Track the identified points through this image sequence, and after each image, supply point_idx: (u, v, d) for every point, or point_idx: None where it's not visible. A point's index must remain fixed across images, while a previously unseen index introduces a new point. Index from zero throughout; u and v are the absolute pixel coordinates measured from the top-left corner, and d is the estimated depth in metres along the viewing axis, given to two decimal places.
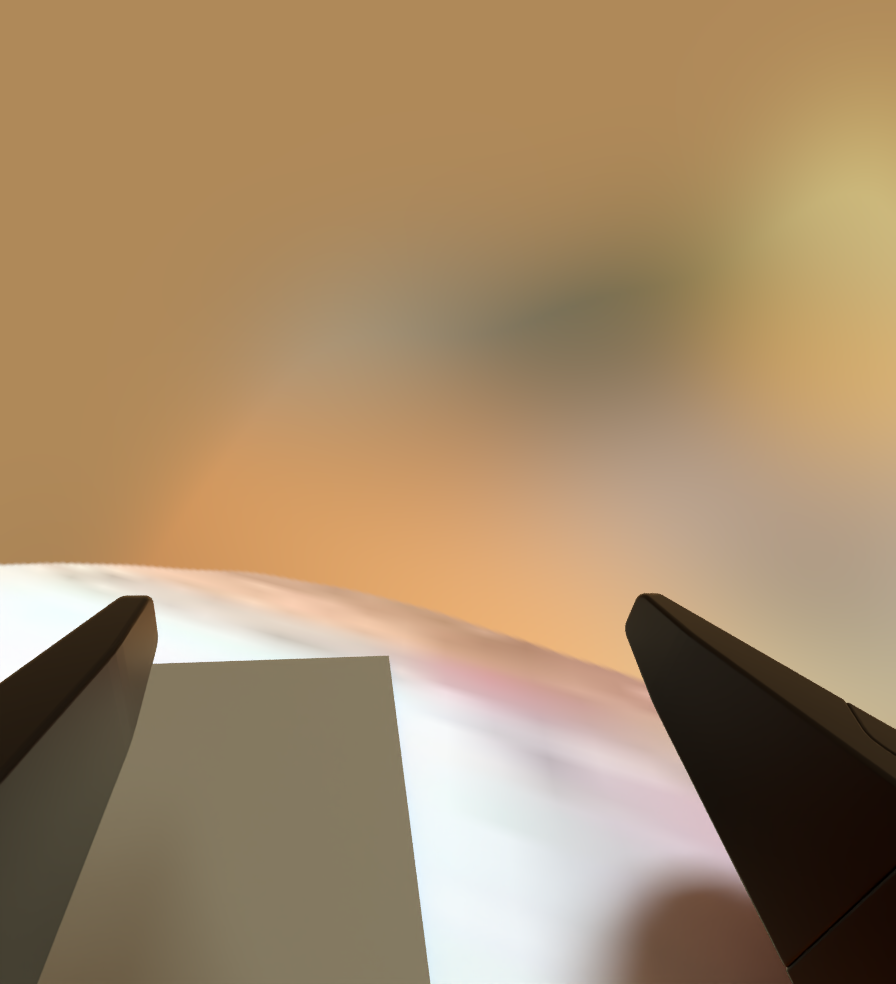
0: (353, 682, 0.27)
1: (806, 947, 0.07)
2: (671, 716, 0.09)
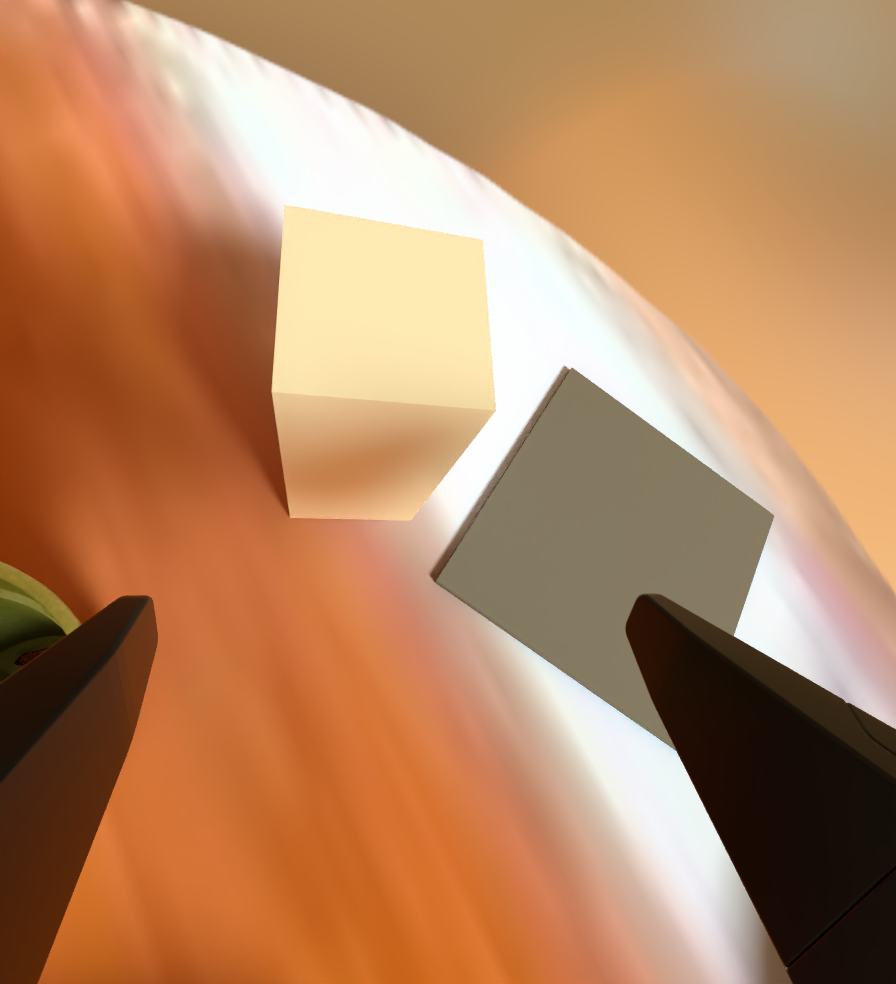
0: (737, 518, 0.29)
1: (806, 947, 0.07)
2: (671, 716, 0.09)
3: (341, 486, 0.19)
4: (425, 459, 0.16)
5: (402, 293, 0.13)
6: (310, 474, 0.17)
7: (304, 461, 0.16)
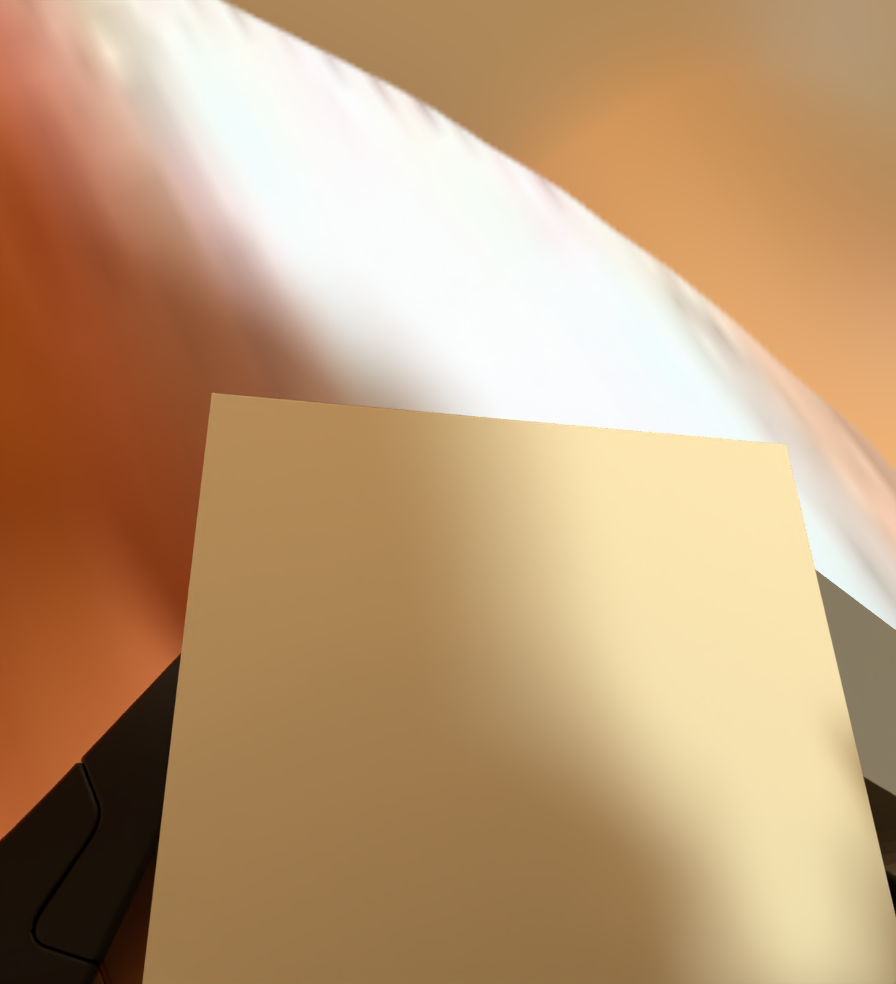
0: None
1: None
2: None
3: None
4: None
5: (610, 692, 0.04)
6: None
7: None
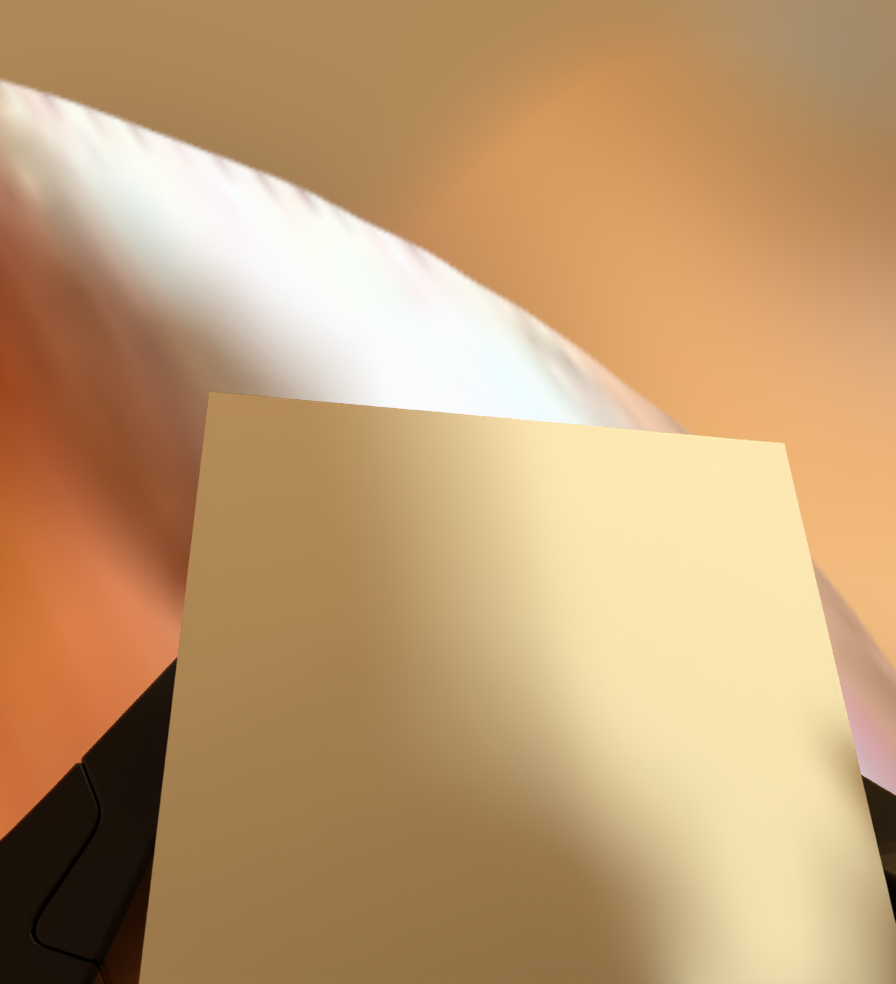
0: None
1: None
2: None
3: None
4: None
5: (608, 689, 0.04)
6: None
7: None
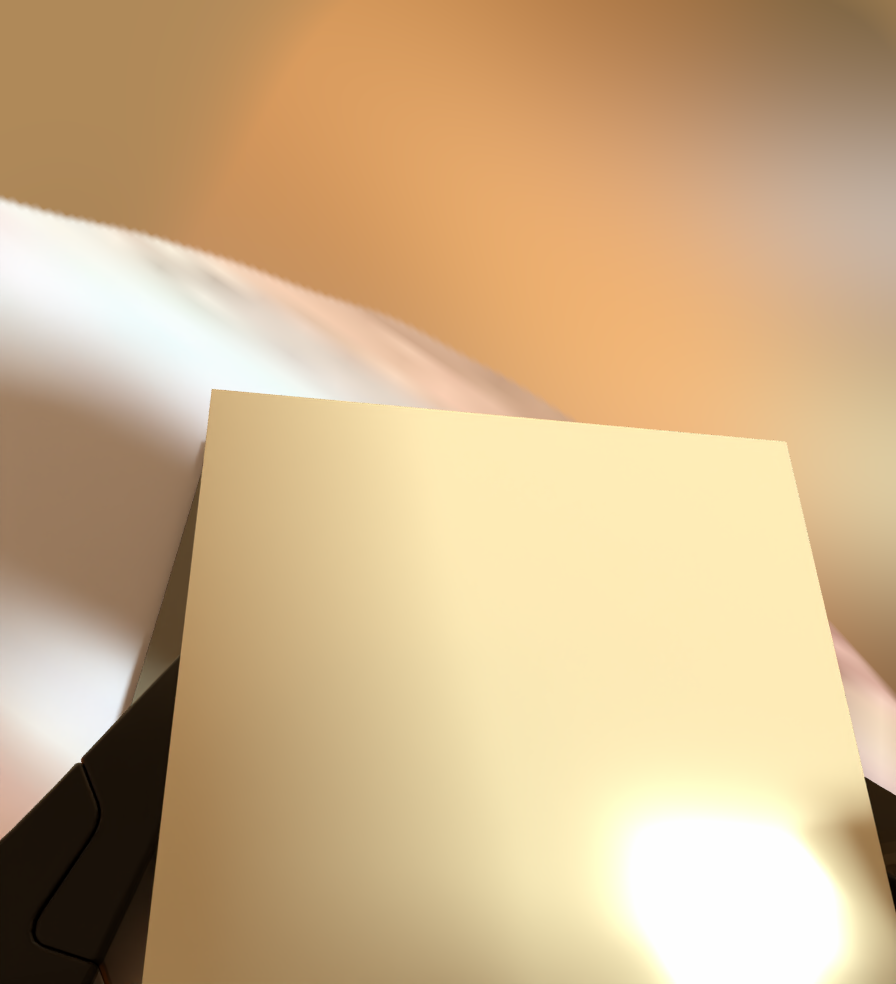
0: None
1: None
2: None
3: None
4: None
5: (610, 687, 0.04)
6: None
7: None
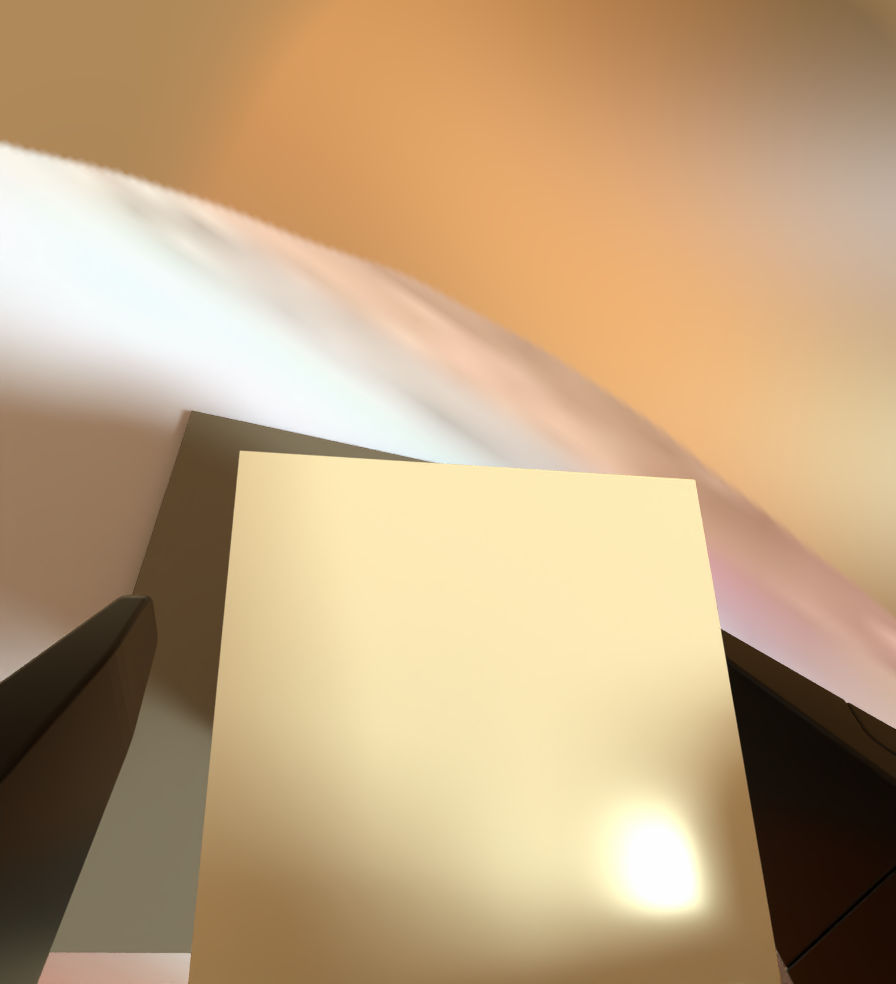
0: None
1: (806, 947, 0.07)
2: None
3: None
4: None
5: (539, 674, 0.05)
6: None
7: None
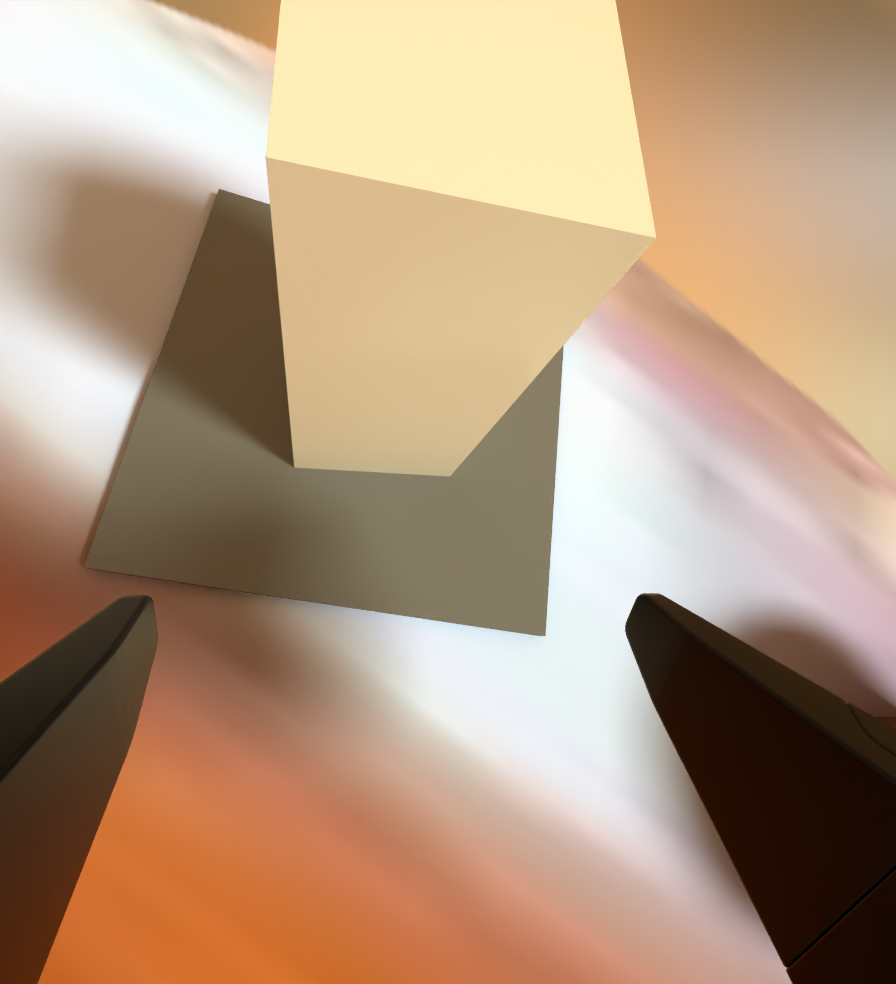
0: None
1: (806, 947, 0.07)
2: (671, 716, 0.09)
3: (368, 412, 0.13)
4: (501, 359, 0.11)
5: (494, 40, 0.08)
6: (326, 386, 0.12)
7: (318, 357, 0.11)
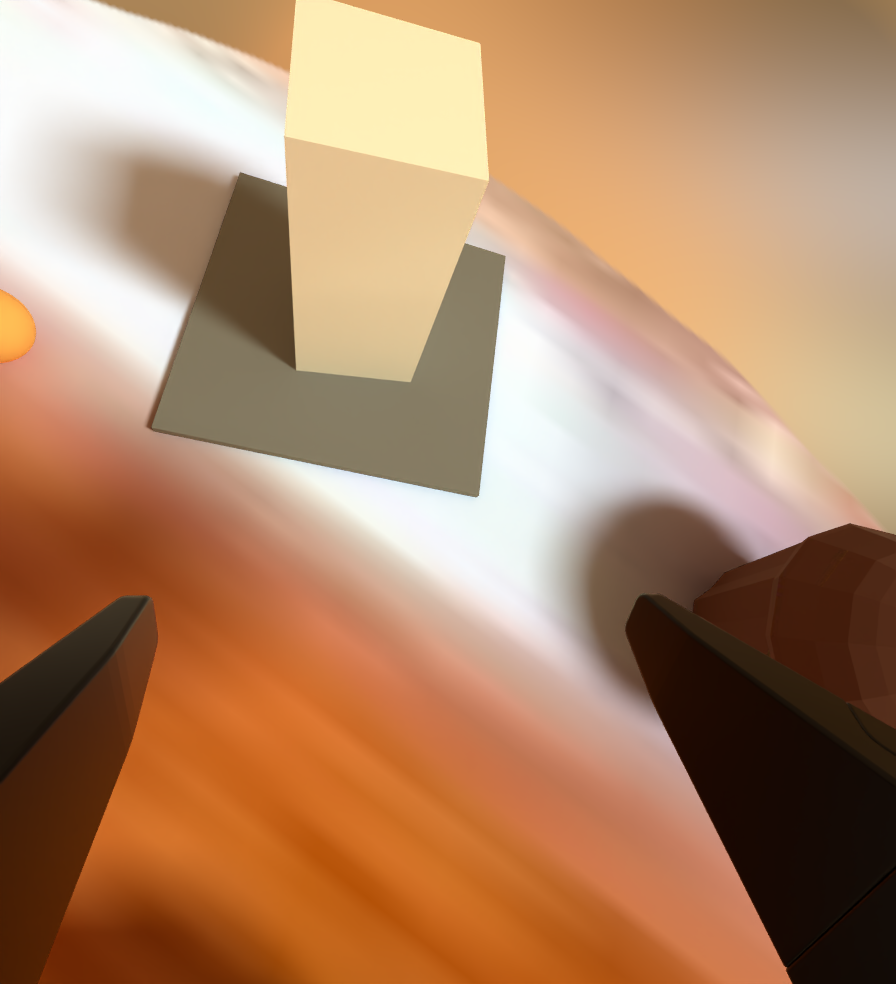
0: (467, 270, 0.28)
1: (806, 947, 0.07)
2: (671, 716, 0.09)
3: (345, 313, 0.20)
4: (424, 266, 0.18)
5: (405, 76, 0.15)
6: (317, 288, 0.18)
7: (311, 264, 0.17)
